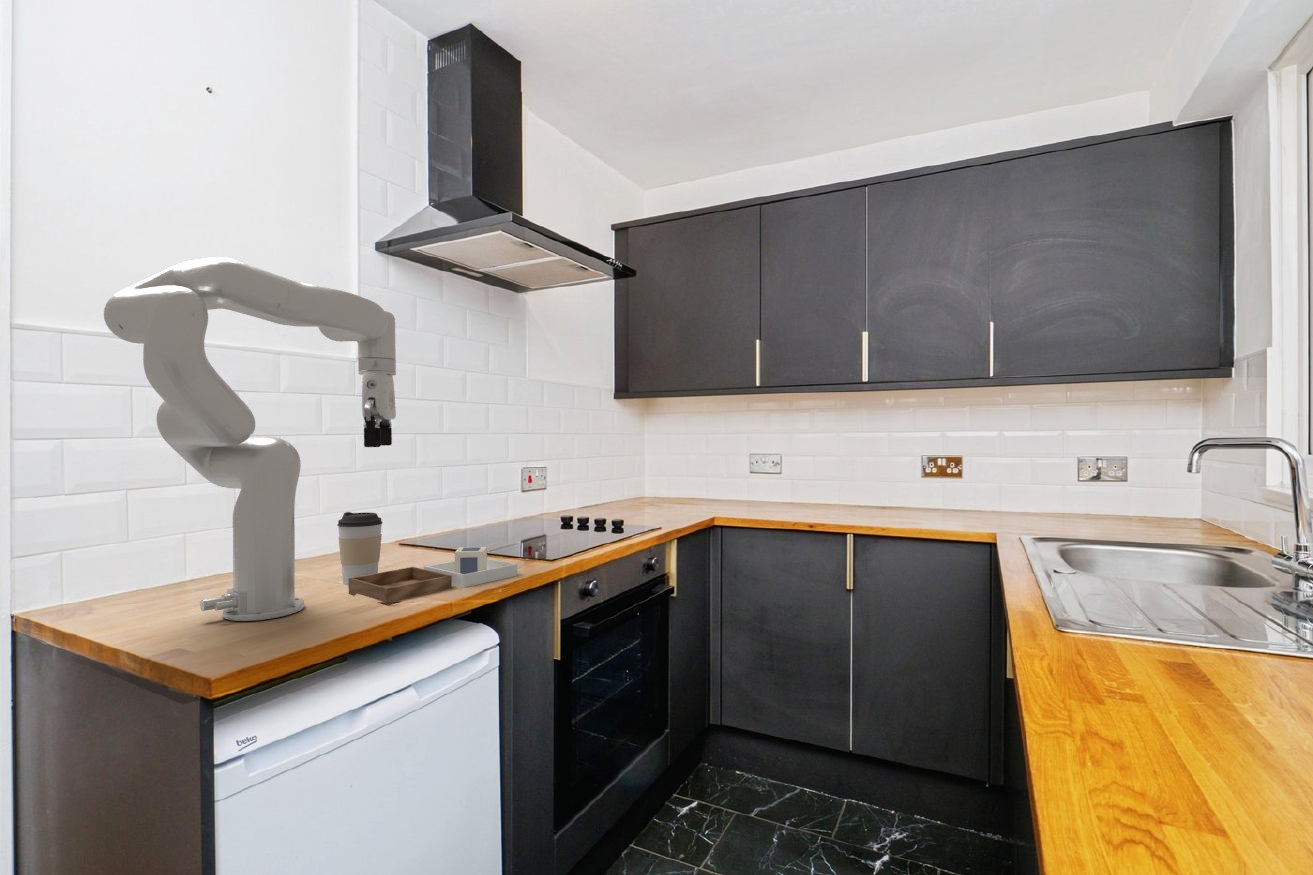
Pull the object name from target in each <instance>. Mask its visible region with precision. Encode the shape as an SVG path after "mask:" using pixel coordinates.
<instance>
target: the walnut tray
mask: <svg viewBox="0 0 1313 875" xmlns="http://www.w3.org/2000/svg"><path fill="white" fill-rule="evenodd" d="M452 588H453V585H452V576H451V575H446V574H442V573H438V572H433V571H429V570H425V569H424V568H419V567H415V566H411V567H404V568H399V569H394V570H393V569H392V570H388V571H382V572H378V573H376V574H370V575H364V576H359V577H353V578H349V585H348V594H349V595H350V596H351V595H352V596H357V595H361V596H364V597H367V598H370V599H374V600H376V601H379V602H377V604H380V605H385V606H390V605H394V604H400V603H401V601H400V600H404V599H409V598H413V597H418V596H422V595H426V594H431V593H435V592H440V591H444V590H450V589H452Z"/></svg>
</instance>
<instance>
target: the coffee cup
mask: <svg viewBox="0 0 1313 875" xmlns="http://www.w3.org/2000/svg"><path fill="white" fill-rule="evenodd" d="M382 524H383V521H382V518H381V517H379V516H378V514H377V513H376V512H350V511H347V512H344V513H343V515H342V518H341V519H338V522H337V525H336V526H337V527H338V544H339V545H338V546H339V557H340V565H341V572H342V583H343V584H344V585H347V586H349V578H353V577H359V576H364V575H370V574H376V573H379V562H380V558H381V547H382V537H383V536H382Z"/></svg>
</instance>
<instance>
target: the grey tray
mask: <svg viewBox="0 0 1313 875" xmlns="http://www.w3.org/2000/svg"><path fill="white" fill-rule="evenodd" d="M423 569H425V570H429V571H433V572H438V573H442V574H446V575H451V576H452V586H454V587H455V586H456V587H460V588H463V589H464V588H468V587H472V586H476V585H480V584H485V583H490V582H493V581H498V580H503V579H508V578H512V577H513V578H514V577H517V576H518V563H514V562H508V561H503V560H498V559H493V558H487V570H483V571H478V572H473V573H468V574H461V573H456V572H455V560H451V561H446V562H441V563H435V564H430V565H424V566H423Z"/></svg>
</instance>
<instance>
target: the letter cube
mask: <svg viewBox="0 0 1313 875" xmlns="http://www.w3.org/2000/svg"><path fill="white" fill-rule="evenodd" d="M487 557H488V548H487V546H465V547H464V546H460V547H458V548H457V549H456V551H455V552H454V561H455V572H456V573H461V574H468V573H473V572H478V571H483V570H487Z"/></svg>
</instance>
